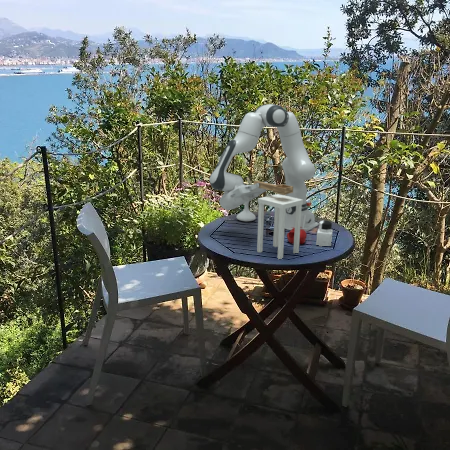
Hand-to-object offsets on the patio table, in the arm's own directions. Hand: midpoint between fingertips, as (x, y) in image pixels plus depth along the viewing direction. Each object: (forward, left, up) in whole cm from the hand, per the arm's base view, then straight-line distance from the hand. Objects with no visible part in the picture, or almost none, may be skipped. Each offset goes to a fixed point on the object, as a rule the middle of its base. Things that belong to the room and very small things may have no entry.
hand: (261, 184), depth 214 cm
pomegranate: (-18, +9, -31) cm, 37 cm away
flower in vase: (-28, -36, -31) cm, 56 cm away
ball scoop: (0, +6, -2) cm, 6 cm away
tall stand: (0, +12, -31) cm, 33 cm away
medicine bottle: (-26, +20, -31) cm, 45 cm away
